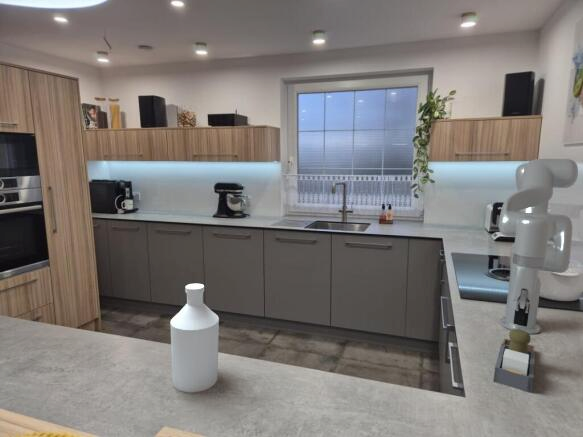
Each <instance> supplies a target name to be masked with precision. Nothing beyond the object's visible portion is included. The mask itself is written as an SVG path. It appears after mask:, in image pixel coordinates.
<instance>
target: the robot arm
mask: <svg viewBox="0 0 583 437" xmlns="http://www.w3.org/2000/svg"><path fill="white" fill-rule="evenodd" d="M577 164H578V163H576V161H574V160H573V159H570V158H569V159H568V158H535V159H532V160H529V162H527V163H522V164H519V165H518V166H517V167H516V170H515V183H516V188H517V191H515V192H514V193H512V194H511V195H510V196H508V197H507V198H506V199H505V201H504V202H503V204H502V206H501V210H500V215H499V220H498V230H499V232H500V233H501V234H502V235H503V236H506V237H513V238H514V242H513V244H512V245H511V246H510V247H509V248H510V250H509V260H510V261H509V263H510V264H509V265H510V266H509V267H510V268H509V269H510V271H509V280H508V281H509V282H508V292H507V297H506V305H505V306H506V307H505V308H506V309H505V315H504V316H503V317H501V318H500V319H499V324H500V325H501V326H503V327H504V328H506V329H508V330H510V331H511V330H513V329H520V330H523V331H526V332H527V333H529V335H530V334H531V335H533V334H538V333H540V332H541V327H540V325H539V324H537V315H538V308H539V302H540V300H539V299H540V294H541V286H542V284H541V283H542V282H541V280H540V278H539V276H538V275H539V271H543V272H549V273H550V272H551V273H558V274H562V273H565V272H567V270H568V269H569V267H570V262H571V253H572V252H571V250H572V241H573V240H572V239H573V238H572V237H573V222H572V220H571V218H570V217H569V216H568V215H563V214H554V213H549V212H548V211H549V210H548V208H549V203H550V202H549V201H550V200H551V199H552V197H553V194H554V192H553V191H554V188H557V189H558V188H559V189H560V188H561V189H568V188H571V187H572V186H573V185H575V183H576V181H577V179H578V176H579V169H578V165H577ZM548 241H549V242H553V244H551V243H548Z"/></svg>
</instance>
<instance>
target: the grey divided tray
mask: <svg viewBox="0 0 583 437" xmlns="http://www.w3.org/2000/svg"><path fill="white" fill-rule="evenodd" d="M505 349H509V345H505V344H503V343H501V345H500V348H499V351H498V355H497V359H496V363H495V368H494V373H493V382H495V383H498V384H501V385H504V386H508V387H510V388H514V389H517V390H520V391H523V392H527V393H531V394H532V392H533V384H534V378H535V377H534V376H535V375H534V374H535V361H536V351H534V352H533V351H529V350H528V355H529V360H528V368H527V376H526V375H523V374H521V373H518V372H515V371H511V370H508V369H507V370H506V369H502V364H503V356H504V352H505Z"/></svg>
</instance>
